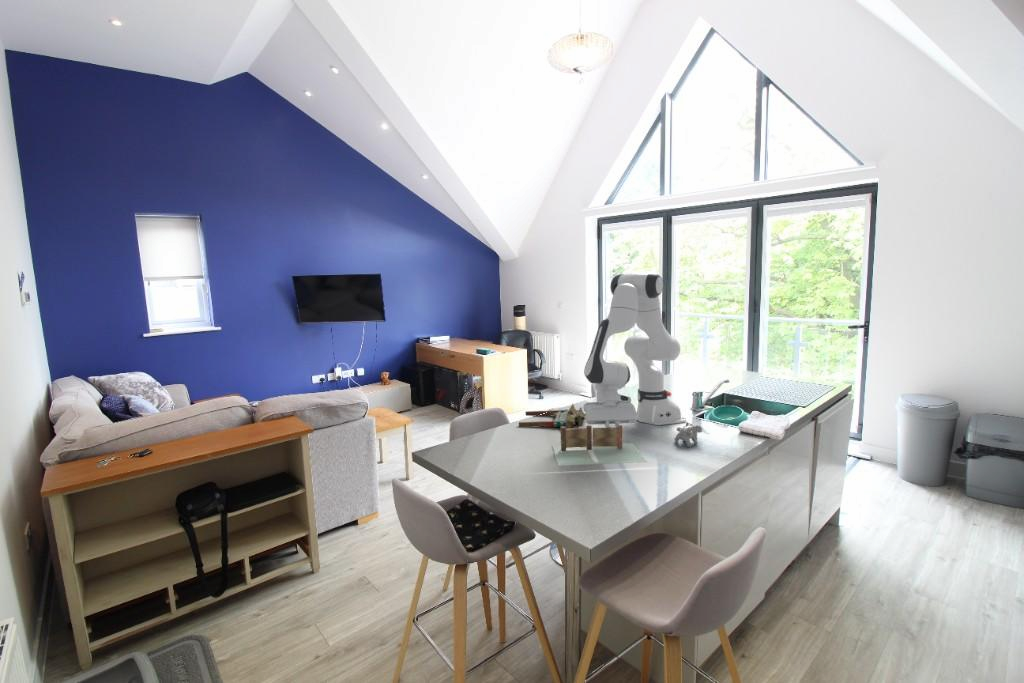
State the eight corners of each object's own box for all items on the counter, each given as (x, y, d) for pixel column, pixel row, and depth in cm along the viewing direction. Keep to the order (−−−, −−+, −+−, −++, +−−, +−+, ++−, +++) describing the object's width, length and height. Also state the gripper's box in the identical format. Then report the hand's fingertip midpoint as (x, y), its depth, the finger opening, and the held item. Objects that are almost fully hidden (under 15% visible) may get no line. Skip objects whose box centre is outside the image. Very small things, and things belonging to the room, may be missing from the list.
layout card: (631, 443, 193) (631, 442, 193) (647, 462, 174) (647, 461, 174) (551, 447, 192) (551, 445, 192) (558, 466, 172) (558, 465, 172)
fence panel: (593, 448, 187) (592, 426, 186) (592, 447, 189) (592, 425, 187) (622, 448, 186) (622, 426, 185) (621, 447, 188) (621, 425, 187)
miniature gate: (526, 406, 242) (587, 403, 235) (528, 416, 242) (588, 414, 236) (516, 422, 216) (584, 419, 209) (517, 434, 216) (585, 431, 210)
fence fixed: (591, 448, 189) (591, 425, 188) (592, 449, 187) (592, 426, 186) (560, 449, 188) (560, 426, 187) (561, 451, 186) (561, 428, 185)
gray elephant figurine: (671, 445, 192) (671, 426, 190) (683, 435, 201) (683, 417, 199) (695, 450, 186) (695, 431, 184) (706, 440, 195) (706, 421, 193)
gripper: (583, 398, 193) (588, 429, 185) (634, 397, 194) (641, 428, 185) (581, 406, 198) (586, 437, 190) (631, 404, 199) (637, 435, 190)
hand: (613, 432), depth 188 cm, fingers closed, pressing on fence panel
